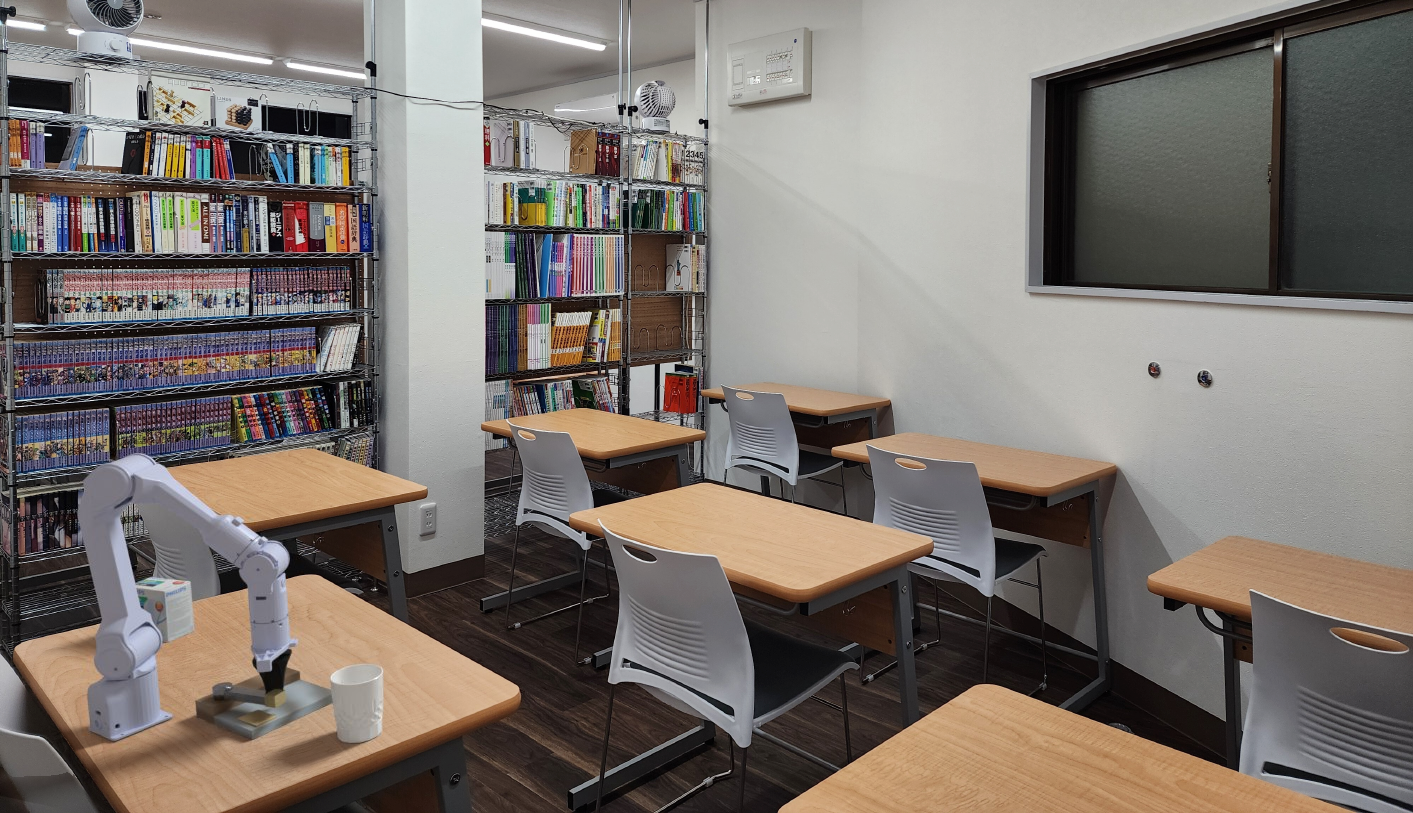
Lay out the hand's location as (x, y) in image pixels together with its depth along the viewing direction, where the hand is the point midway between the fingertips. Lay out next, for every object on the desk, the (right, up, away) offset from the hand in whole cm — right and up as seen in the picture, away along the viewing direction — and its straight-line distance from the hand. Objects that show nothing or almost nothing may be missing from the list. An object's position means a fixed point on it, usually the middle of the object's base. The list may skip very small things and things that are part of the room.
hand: (275, 695), depth 154 cm
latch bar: (-4, 0, -1) cm, 4 cm away
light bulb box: (-40, +1, +36) cm, 54 cm away
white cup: (+16, -4, -5) cm, 18 cm away
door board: (-2, -3, +3) cm, 5 cm away
